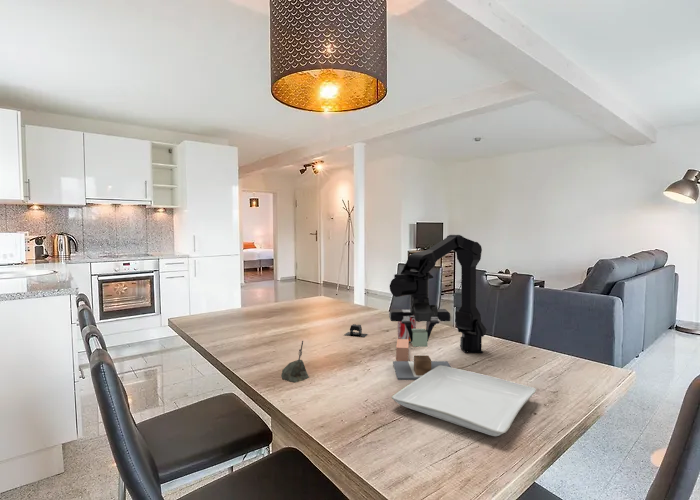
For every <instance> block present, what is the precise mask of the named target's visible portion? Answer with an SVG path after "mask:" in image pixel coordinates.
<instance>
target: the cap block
mask: <svg viewBox="0 0 700 500" xmlns="http://www.w3.org/2000/svg"><path fill="white" fill-rule="evenodd" d="M409 349H410V348H409V339H398V338H397V340H396V348H395V350H396V351H395V353H396V354H395V361H409V352H410V351H409Z"/></svg>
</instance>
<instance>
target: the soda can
mask: <svg viewBox="0 0 700 500" xmlns="http://www.w3.org/2000/svg"><path fill="white" fill-rule="evenodd" d="M402 311H403V312H410V308H408V309H407V308H405V309H402ZM410 321H411V328H412V329H417V328H416V327H417V325H416V324H417V323H416V322H417V321H415V318H410ZM397 339H409V343H411V340H410V337H409V334H408V331H407V328H406V325H405V324H402V323H401V321H397Z"/></svg>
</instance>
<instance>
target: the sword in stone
mask: <svg viewBox="0 0 700 500" xmlns="http://www.w3.org/2000/svg"><path fill="white" fill-rule="evenodd" d="M303 344H304V340H302V341H301V344H300V349H298V350H299V351H298V359H297V360H294V361H291V362H289V363H288V364H287V365H286V366H284V368H283V369H282V372H281V374H280V375H281V379H282V380H284V381H288V382H290V383H293V384H294V383H299V382H302V381H303V382H304V381H306V380H307V379H309V378H310V376H309V374H308V372H307V370H306V366H305V363H304V361H303V360H302V359H301V358H302V354H303Z"/></svg>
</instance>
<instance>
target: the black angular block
mask: <svg viewBox="0 0 700 500" xmlns="http://www.w3.org/2000/svg"><path fill="white" fill-rule="evenodd" d="M355 331H356V332H355ZM362 331H363V328H362V324H355V323H354V324H352V325H350V328H349V331H347V332H346V333H344V334H343V336H347V337H355V338H366V337H367V336H368V335H369V333H363V332H362Z"/></svg>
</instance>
